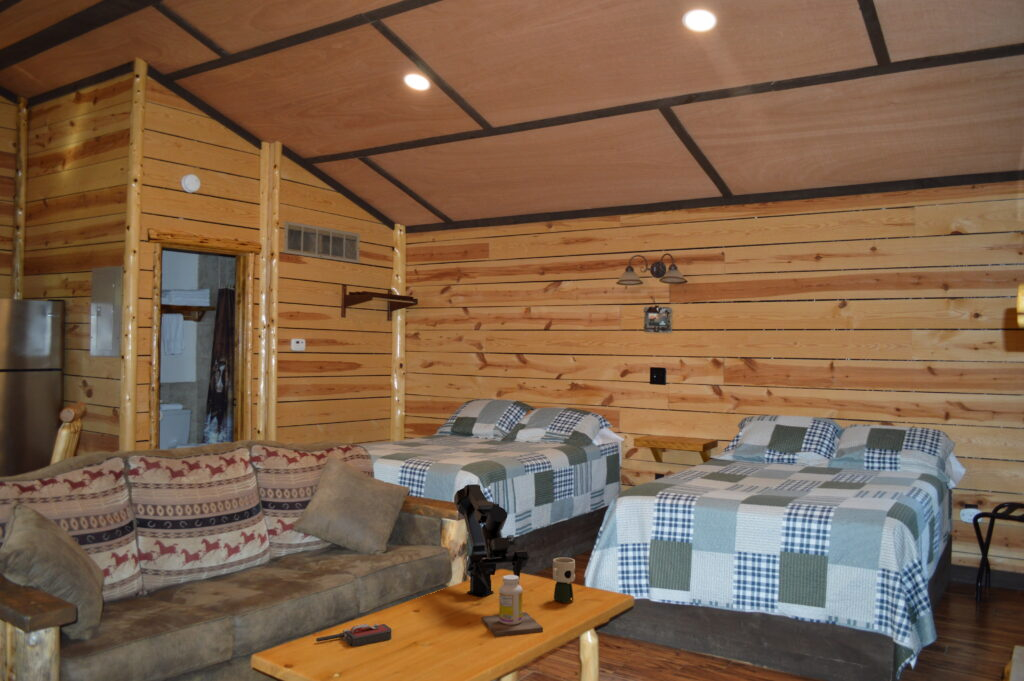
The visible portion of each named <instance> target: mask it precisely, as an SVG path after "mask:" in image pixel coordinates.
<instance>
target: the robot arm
mask: <svg viewBox="0 0 1024 681" xmlns="http://www.w3.org/2000/svg"><path fill="white" fill-rule="evenodd" d="M453 501H454V502H453V503H454V505H455V506H456V509H457V512H458V513H459V514H460V515H461V516H462V517H463V519H464V522H465V526H466V527H465V528H466V531H467V535H468V539H469V543H470V548H471V551H470V554H469V555H468V558H467V560H466V563H465V564H466V565H465V571H466V575H467V576H469V578H470V580H469V582H470V583H469V585H470V586H469V590H468V591H466V594H467V595H468V594H469V595H472V596H476V597H480V598H482V597H486V596H488V595H492V594H494V592H495V591H493V590H492V580H491V576H495V573H496V569H497V565H498V564H508V563H509V564H510V563H511V565H512V566H513V567H512V572H513V575H516V576H518V577H519V580H520V578H521V570H523V568H525V567H526V566H527V563H528V561H529V559H530V555H529V554H530V553H529V552H528V551H527V550H524V549H523V550H515V551H514V553H513V555H508V556H507V554H508V553H509V549H510V548H511V547H514V546H515V545H516V540H515V535H514V534H508V535H507V536H506V537H505V536H504V537H502V536H503V535H502V532H501V531H502V530H503V528H504V526H505V524H506V521H507V518H508V516H509V515H508V512H507V510H506V509H505V508H503V507H501V506H500V504H499V503H495V502H493V501H489V500H488V499H487V497H486V496H485V494H484V492H483V491H482V488H481V484H467V485H464V486H463V488H460V489H459V490H457V491H456V492H455V494H454V498H453ZM481 524H483V525H482V527H481ZM519 584H520V582H519V583H518V585H519Z"/></svg>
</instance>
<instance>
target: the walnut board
mask: <svg viewBox="0 0 1024 681" xmlns="http://www.w3.org/2000/svg"><path fill="white" fill-rule="evenodd" d="M480 619H481V622H482V623H483V624H484V626H485V627H486V628H487V629H488V630H489V631H490V632H491V633H492V634H493V636H494V637H495V638H499V637H507V636H515V635H516V636H517V635H528V634H536V633H543V632H544V628H543V626H542V625H541V624H540V623H539V622H537V620H535V619H534V618H533V617H532V616H531V615H530V614H529V613H528V612H527V611H526V612H525V611H524V612H523V611H522V622H521V623H519V624H515V625H506V624H503V623H501V622H500V620H499V614H494V615H493V614H492V615H485V616H481V618H480Z"/></svg>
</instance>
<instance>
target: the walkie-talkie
mask: <svg viewBox="0 0 1024 681" xmlns="http://www.w3.org/2000/svg"><path fill="white" fill-rule="evenodd" d="M334 639H342V640H343V642H346V644H347V645H348V646H351V647H353V648H356V647H361V646H365V645H370V644H374V643H380V642H386V641H391V640H392V628H391V627H390V626H389V625H387V624H385V623H381V624H378V623H376V622H375V623H374V624H373V625H369V624H367V623H365V624H364V623H363V624H359V625H353V626H351V628H350V629H343V630H342V632H340V633H336V634H331V635H326V636H325V635H324V636H320V637H317V638H316V639H315V640H316V641H315V642H323V641H330V640H334Z"/></svg>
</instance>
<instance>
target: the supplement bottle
mask: <svg viewBox="0 0 1024 681" xmlns="http://www.w3.org/2000/svg"><path fill="white" fill-rule="evenodd" d="M502 582H503V584H501V586H500V587H499V588H498V589H499V591H498V594H499V597H498V598H499V601H498V602H499V603H498V604H499V606H498V607H499V610H498V615H499V620H500V622H501V623H503V624H506V625H515V624H519V623H521V622H522V613H523V587H522V586H521V585H518V583H519V584H520V579H519V577H518V576H516V575H514V574H507V575H504V576H502Z"/></svg>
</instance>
